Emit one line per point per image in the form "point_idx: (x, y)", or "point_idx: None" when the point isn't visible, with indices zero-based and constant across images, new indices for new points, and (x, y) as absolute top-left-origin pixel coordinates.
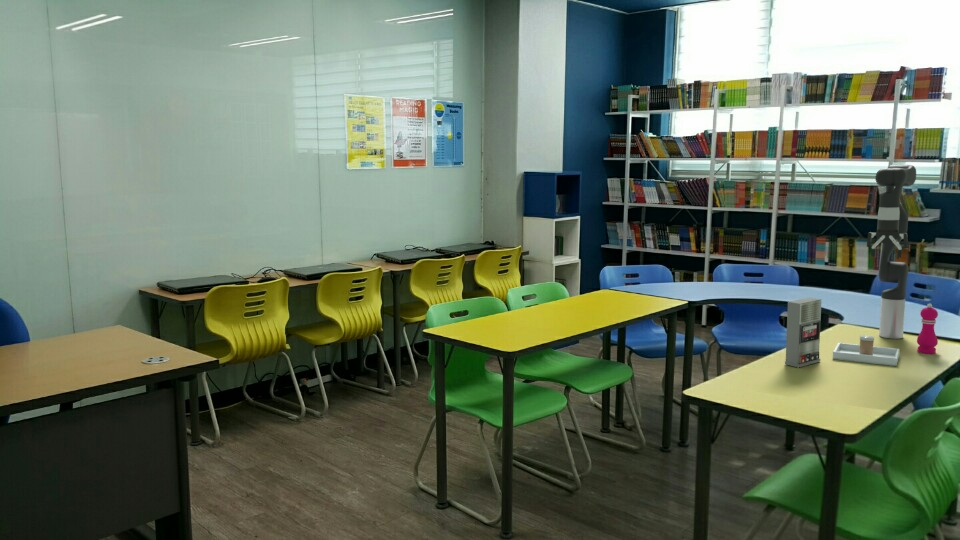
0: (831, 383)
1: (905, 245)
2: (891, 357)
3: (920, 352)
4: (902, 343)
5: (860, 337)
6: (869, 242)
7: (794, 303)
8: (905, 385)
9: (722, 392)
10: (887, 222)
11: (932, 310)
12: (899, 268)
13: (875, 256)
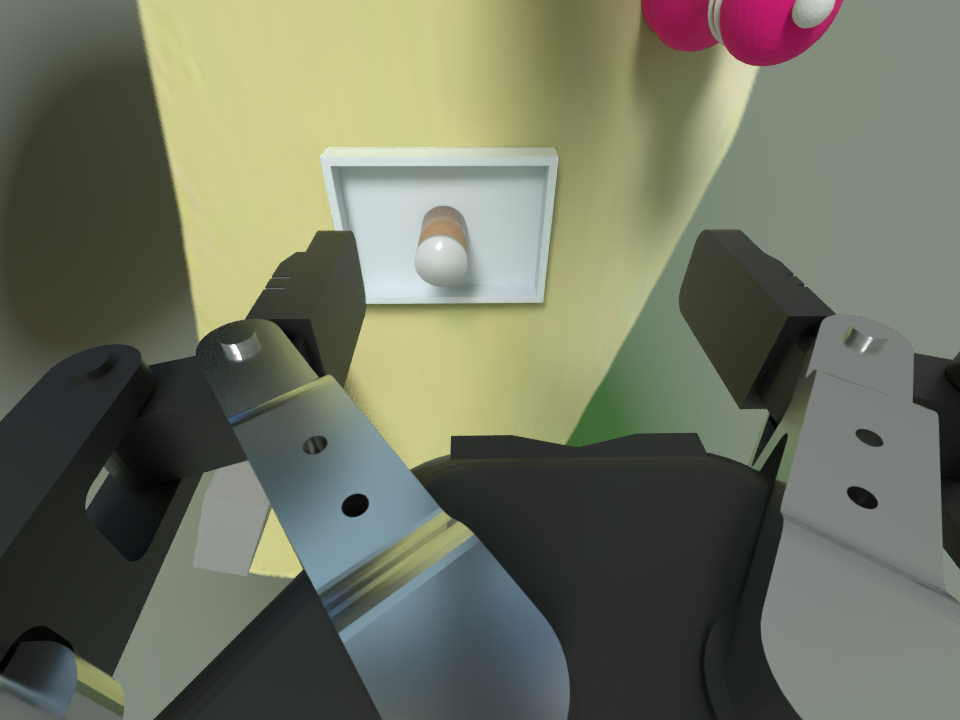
0: (412, 465)
1: (943, 495)
2: (526, 202)
3: (649, 25)
4: None
5: (419, 274)
6: (145, 548)
7: (223, 569)
8: (553, 425)
9: (273, 553)
10: None
11: (801, 48)
12: None
13: (350, 243)
